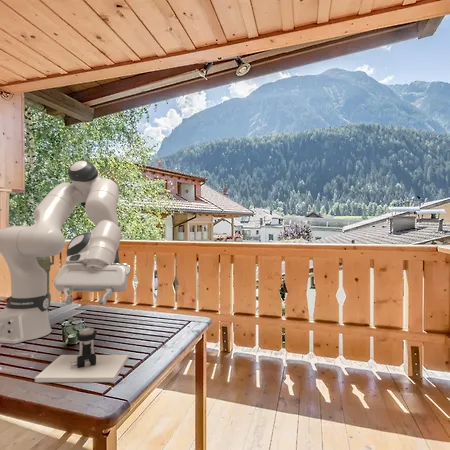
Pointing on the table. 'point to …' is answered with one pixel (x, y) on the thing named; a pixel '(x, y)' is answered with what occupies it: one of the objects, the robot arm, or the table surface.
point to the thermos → (46, 264)
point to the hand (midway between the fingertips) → (84, 303)
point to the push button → (86, 348)
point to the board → (83, 369)
